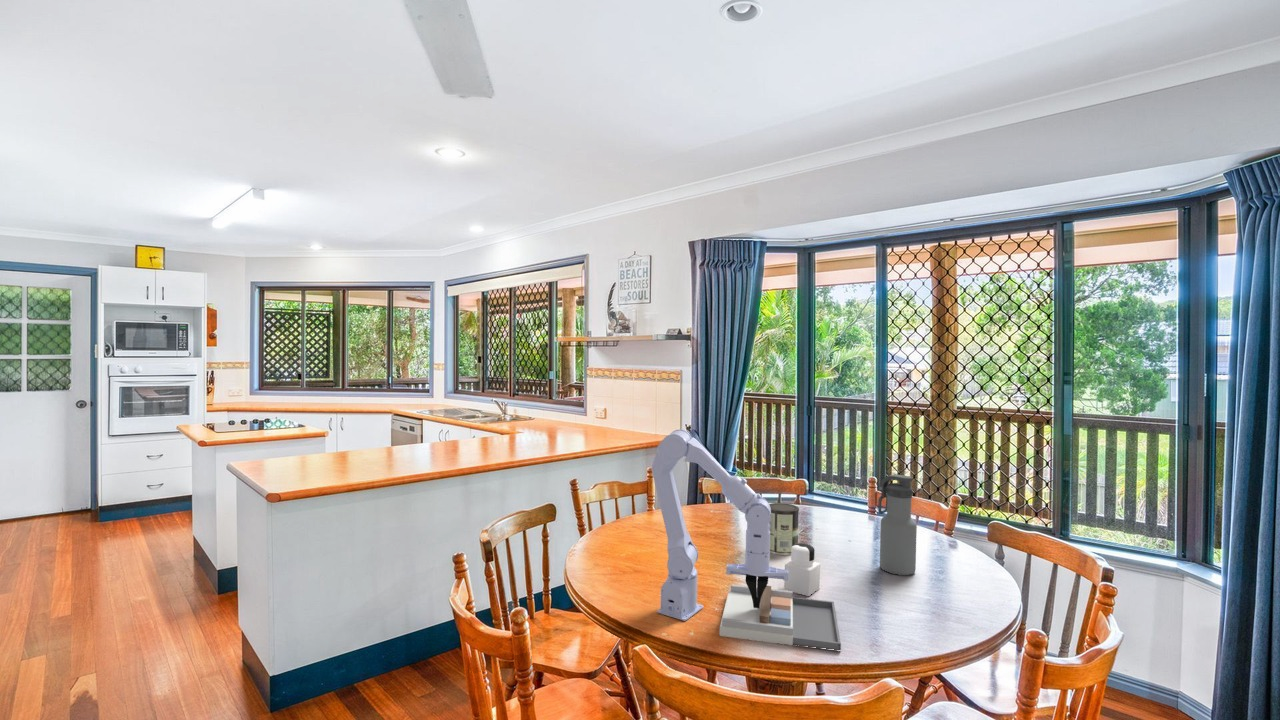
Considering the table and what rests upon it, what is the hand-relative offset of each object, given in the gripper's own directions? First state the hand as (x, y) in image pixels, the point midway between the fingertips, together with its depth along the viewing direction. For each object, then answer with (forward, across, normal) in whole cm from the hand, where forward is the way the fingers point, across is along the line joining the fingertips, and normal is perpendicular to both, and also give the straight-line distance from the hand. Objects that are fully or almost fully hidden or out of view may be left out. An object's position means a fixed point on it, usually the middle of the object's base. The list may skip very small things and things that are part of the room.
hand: (756, 606), depth 144 cm
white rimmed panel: (+3, 0, 0) cm, 3 cm away
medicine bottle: (+3, -11, -21) cm, 24 cm away
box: (+3, -14, 0) cm, 14 cm away
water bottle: (+3, -38, -44) cm, 59 cm away
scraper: (+1, -2, 0) cm, 2 cm away
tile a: (+1, -6, -4) cm, 7 cm away
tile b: (+1, -6, +4) cm, 7 cm away
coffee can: (+3, -5, -52) cm, 53 cm away
